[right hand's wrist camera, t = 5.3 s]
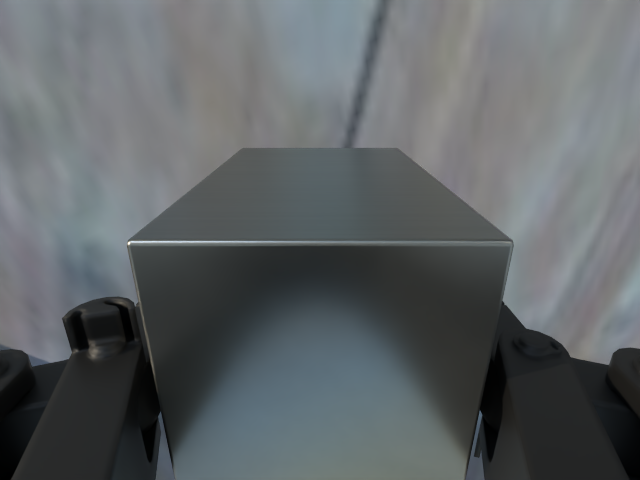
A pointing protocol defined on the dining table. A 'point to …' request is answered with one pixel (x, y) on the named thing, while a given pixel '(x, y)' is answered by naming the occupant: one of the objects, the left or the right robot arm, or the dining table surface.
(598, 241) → the dining table surface
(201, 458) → the bar
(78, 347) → the right robot arm
